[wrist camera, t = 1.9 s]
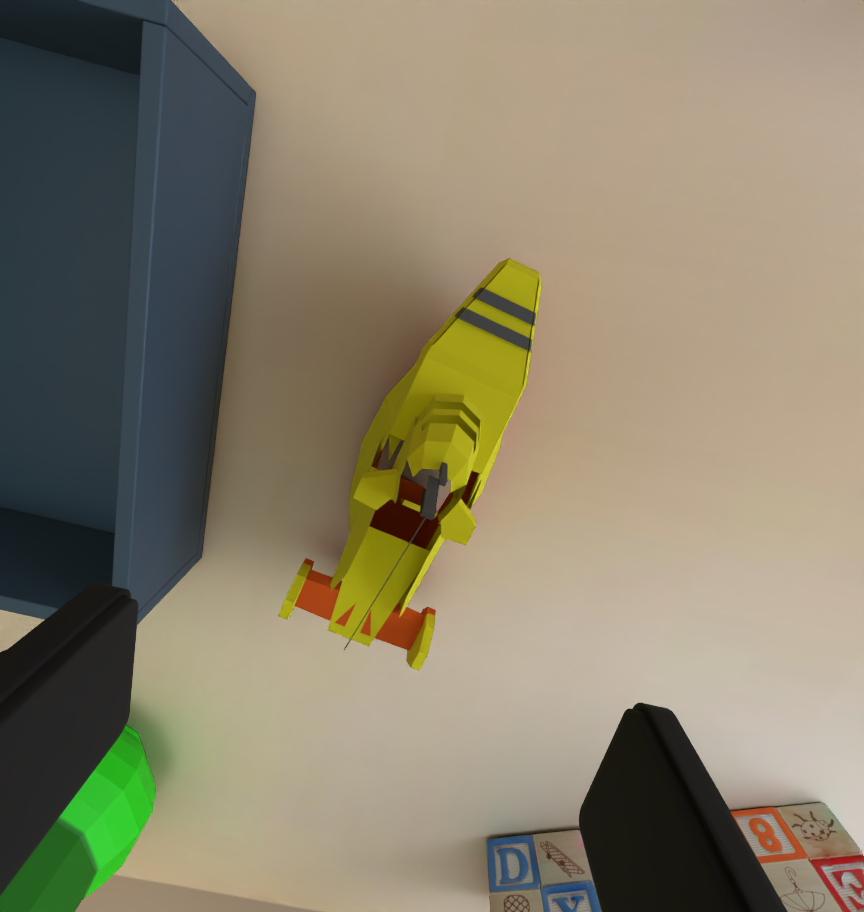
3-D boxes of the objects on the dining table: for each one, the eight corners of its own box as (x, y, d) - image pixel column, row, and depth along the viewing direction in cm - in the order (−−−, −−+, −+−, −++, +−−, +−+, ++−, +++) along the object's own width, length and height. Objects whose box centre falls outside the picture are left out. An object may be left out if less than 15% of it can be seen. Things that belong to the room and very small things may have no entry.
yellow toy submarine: (305, 571, 27) (225, 723, 17) (442, 240, 21) (438, 192, 12) (413, 614, 27) (395, 784, 18) (572, 303, 22) (669, 305, 12)
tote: (-131, -16, 19) (-413, -170, 13) (256, 92, 20) (168, -5, 14) (-88, 490, 26) (-261, 552, 20) (202, 558, 26) (125, 638, 20)
